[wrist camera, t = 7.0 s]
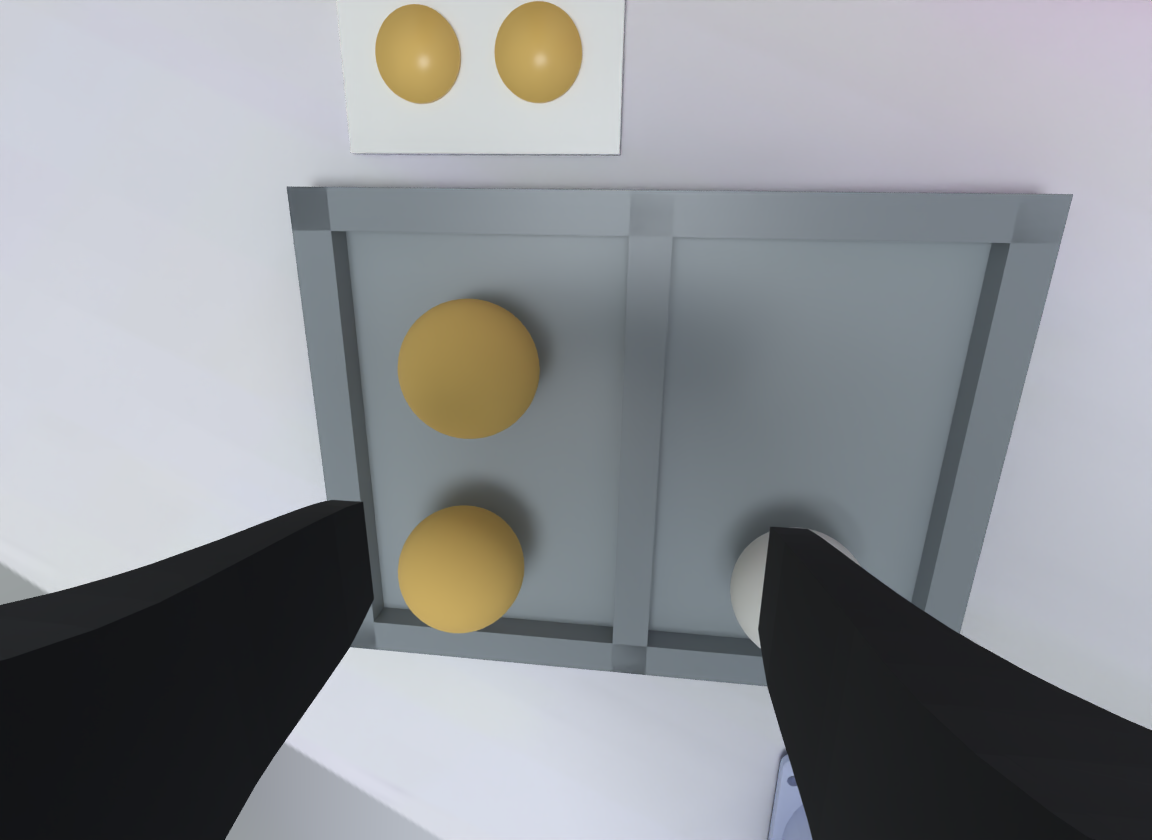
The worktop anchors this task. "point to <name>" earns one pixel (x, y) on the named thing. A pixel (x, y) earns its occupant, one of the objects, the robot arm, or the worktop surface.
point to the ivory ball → (757, 582)
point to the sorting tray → (679, 396)
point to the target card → (483, 76)
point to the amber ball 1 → (468, 368)
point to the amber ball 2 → (461, 569)
